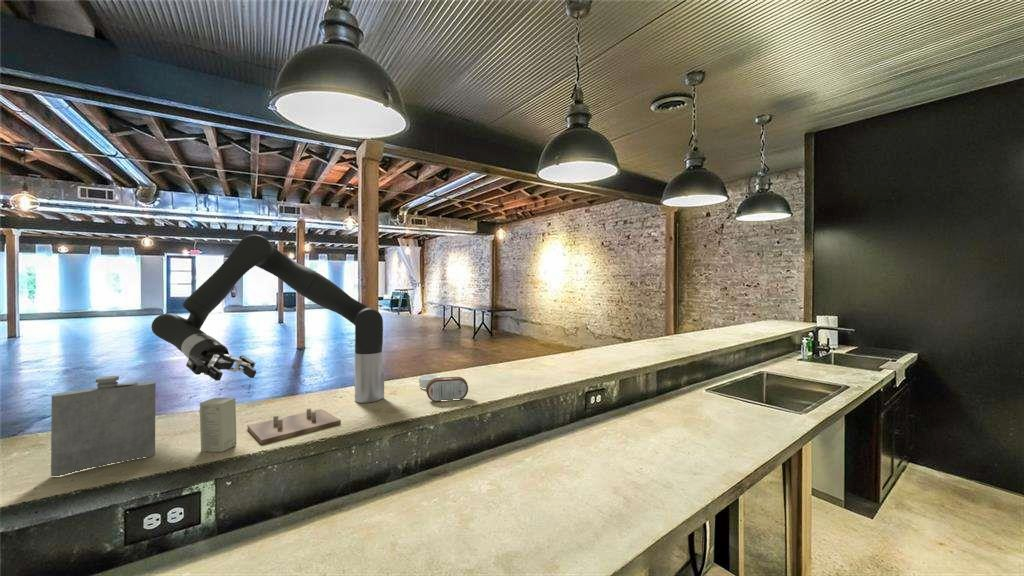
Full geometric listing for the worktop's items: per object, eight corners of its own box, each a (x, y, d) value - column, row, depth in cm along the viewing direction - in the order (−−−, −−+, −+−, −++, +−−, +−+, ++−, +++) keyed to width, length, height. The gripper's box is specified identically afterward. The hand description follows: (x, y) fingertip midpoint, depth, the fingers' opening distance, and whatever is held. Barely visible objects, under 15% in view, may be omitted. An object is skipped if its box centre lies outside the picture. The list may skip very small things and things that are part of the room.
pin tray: (321, 412, 119) (321, 401, 119) (340, 424, 109) (340, 411, 109) (247, 429, 105) (247, 416, 105) (261, 444, 95) (261, 430, 95)
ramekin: (443, 388, 149) (443, 377, 149) (422, 391, 144) (422, 380, 144) (436, 383, 157) (436, 373, 157) (415, 386, 152) (415, 376, 152)
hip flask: (49, 479, 77) (50, 384, 77) (53, 472, 80) (54, 381, 80) (155, 456, 88) (155, 373, 88) (155, 450, 91) (155, 370, 91)
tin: (467, 397, 136) (467, 375, 136) (468, 400, 133) (468, 377, 133) (426, 401, 132) (426, 377, 132) (426, 403, 129) (426, 379, 129)
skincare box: (237, 445, 94) (237, 398, 94) (221, 452, 90) (222, 403, 90) (214, 444, 95) (215, 397, 95) (198, 451, 90) (198, 402, 91)
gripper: (179, 337, 96) (213, 363, 90) (236, 339, 109) (269, 361, 103) (168, 364, 96) (201, 392, 90) (226, 362, 109) (259, 386, 103)
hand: (237, 376), depth 96 cm, fingers open, 8 cm apart
